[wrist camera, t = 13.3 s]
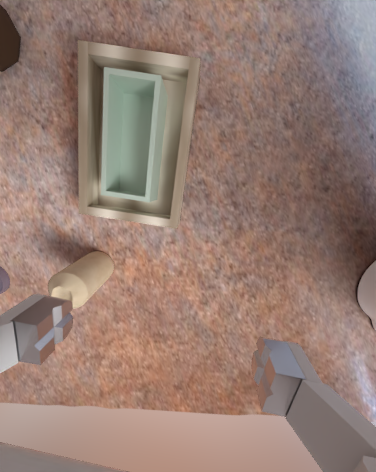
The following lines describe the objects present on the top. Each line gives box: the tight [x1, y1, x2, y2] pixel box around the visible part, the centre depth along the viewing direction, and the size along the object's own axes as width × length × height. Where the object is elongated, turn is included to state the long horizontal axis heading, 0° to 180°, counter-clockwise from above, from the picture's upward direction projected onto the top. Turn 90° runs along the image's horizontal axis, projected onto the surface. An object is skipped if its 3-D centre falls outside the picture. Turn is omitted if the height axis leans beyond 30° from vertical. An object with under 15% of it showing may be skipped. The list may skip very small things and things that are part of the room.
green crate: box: [101, 67, 168, 202], centre depth 25 cm, size 6×14×5 cm, turn 171°
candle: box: [48, 251, 114, 309], centre depth 29 cm, size 6×6×10 cm
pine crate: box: [78, 40, 201, 229], centre depth 26 cm, size 14×20×4 cm
